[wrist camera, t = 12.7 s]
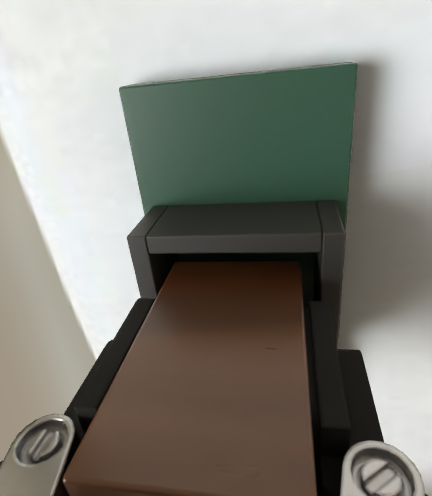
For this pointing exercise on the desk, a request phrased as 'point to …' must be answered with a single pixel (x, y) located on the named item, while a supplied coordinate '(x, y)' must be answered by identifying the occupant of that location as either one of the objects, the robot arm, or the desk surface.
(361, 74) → the desk surface
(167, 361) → the brown rectangular block
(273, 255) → the base pad
